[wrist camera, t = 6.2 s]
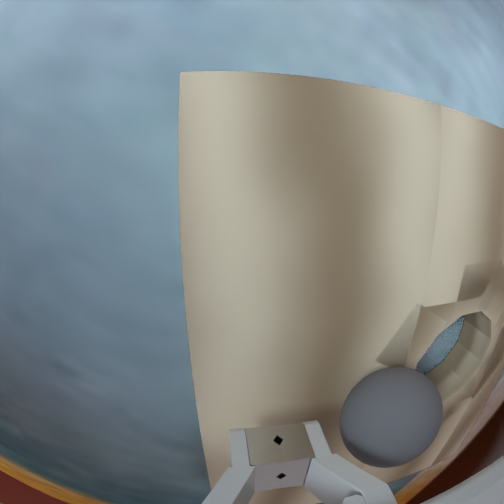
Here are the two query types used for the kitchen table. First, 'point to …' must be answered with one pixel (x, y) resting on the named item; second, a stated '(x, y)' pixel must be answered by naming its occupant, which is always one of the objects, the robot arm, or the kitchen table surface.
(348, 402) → the ball
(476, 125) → the board
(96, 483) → the kitchen table surface
